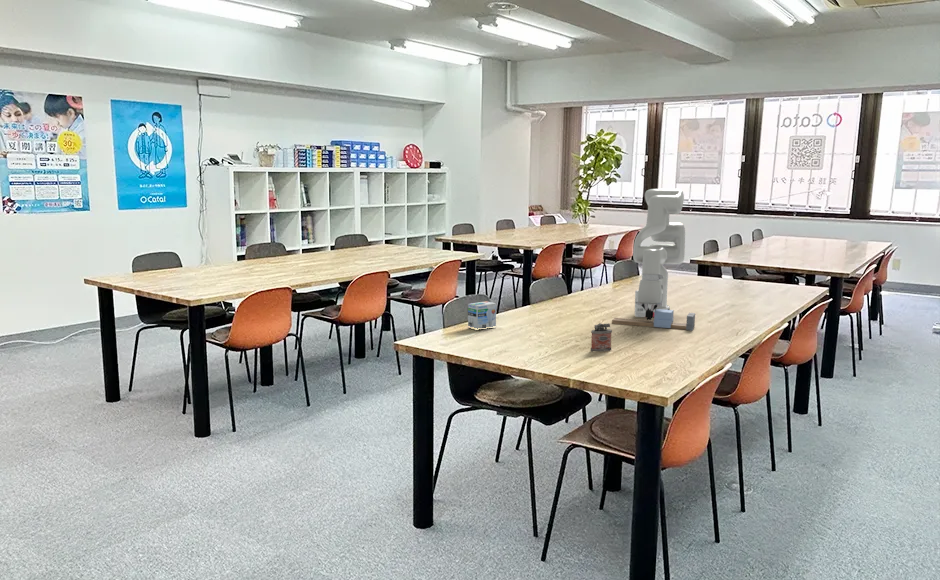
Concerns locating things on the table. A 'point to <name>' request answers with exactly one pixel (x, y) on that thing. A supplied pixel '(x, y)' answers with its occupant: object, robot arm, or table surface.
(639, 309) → the ink box
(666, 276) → the robot arm
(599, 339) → the lighter
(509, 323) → the table surface
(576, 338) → the table surface
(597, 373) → the table surface
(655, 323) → the block
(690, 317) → the rail
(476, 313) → the light bulb box
